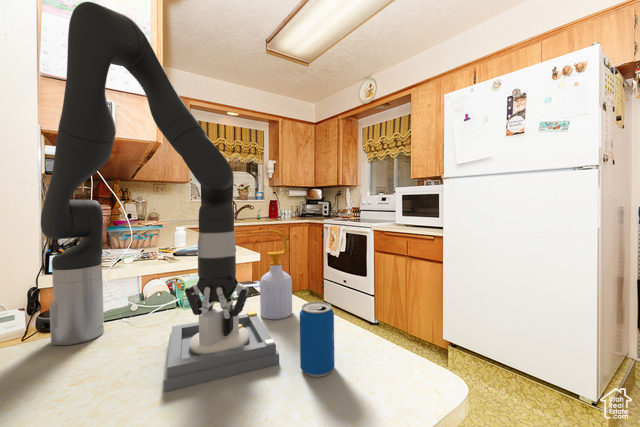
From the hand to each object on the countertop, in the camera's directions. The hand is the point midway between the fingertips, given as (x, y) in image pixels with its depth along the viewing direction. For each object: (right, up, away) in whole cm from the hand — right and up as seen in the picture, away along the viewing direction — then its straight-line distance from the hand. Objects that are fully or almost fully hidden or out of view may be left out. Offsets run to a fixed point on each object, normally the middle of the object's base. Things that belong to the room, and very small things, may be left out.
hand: (218, 334), depth 61 cm
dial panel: (0, -4, +1) cm, 4 cm away
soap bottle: (+9, -4, +22) cm, 24 cm away
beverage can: (+21, -4, -6) cm, 22 cm away
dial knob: (0, -2, +1) cm, 2 cm away
